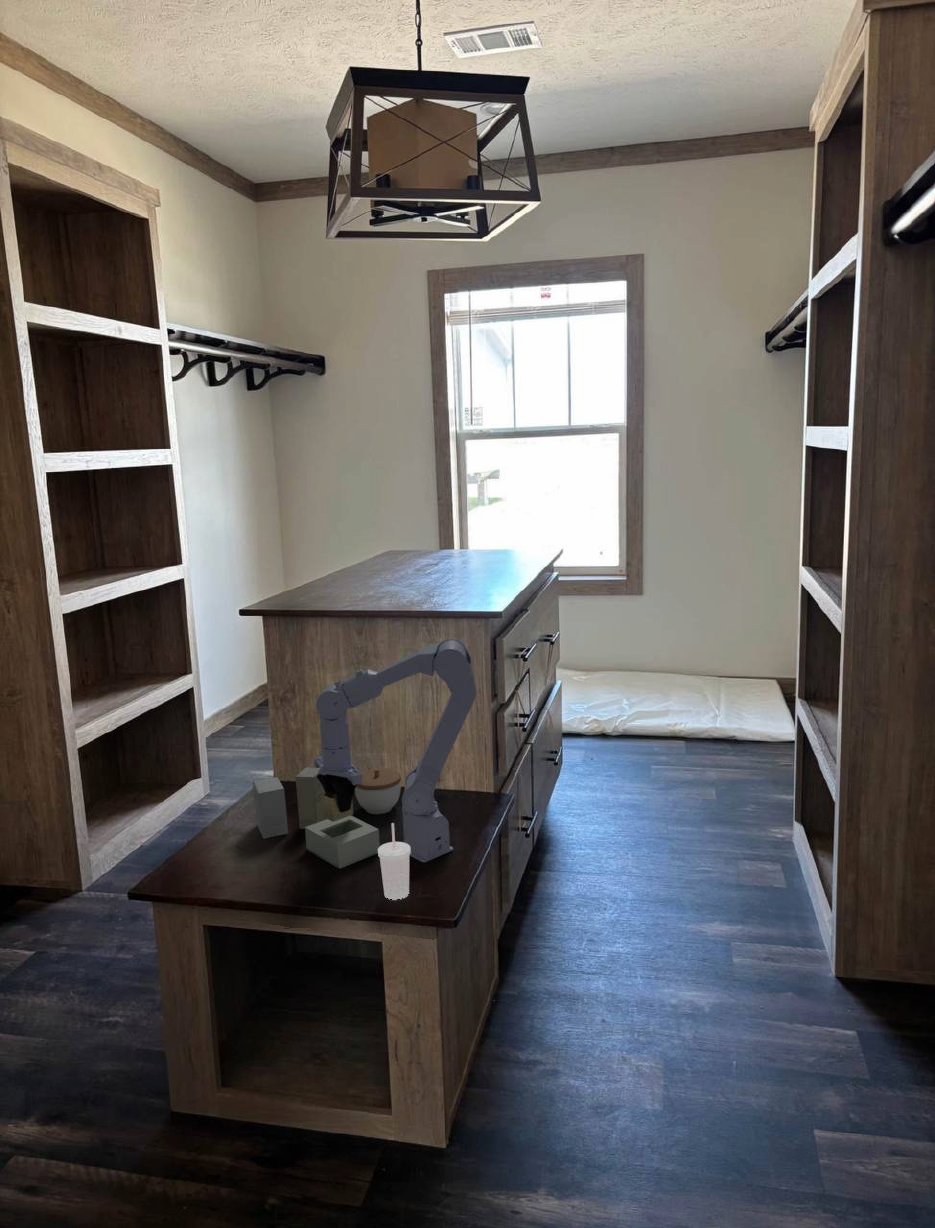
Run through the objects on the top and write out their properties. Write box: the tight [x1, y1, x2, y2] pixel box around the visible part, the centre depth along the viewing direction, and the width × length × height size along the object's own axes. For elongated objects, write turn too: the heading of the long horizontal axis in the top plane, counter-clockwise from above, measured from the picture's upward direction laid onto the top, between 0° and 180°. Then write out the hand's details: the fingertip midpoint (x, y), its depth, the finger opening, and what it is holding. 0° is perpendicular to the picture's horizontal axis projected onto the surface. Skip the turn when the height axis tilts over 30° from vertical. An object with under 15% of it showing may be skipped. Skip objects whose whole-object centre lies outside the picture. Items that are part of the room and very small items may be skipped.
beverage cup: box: [377, 822, 411, 901], centre depth 165 cm, size 6×6×14 cm
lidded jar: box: [354, 767, 402, 815], centre depth 205 cm, size 11×11×9 cm
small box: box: [252, 776, 289, 840], centre depth 195 cm, size 8×6×10 cm
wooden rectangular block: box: [323, 791, 354, 822], centre depth 183 cm, size 3×5×5 cm, turn 132°
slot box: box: [304, 815, 381, 869], centre depth 184 cm, size 12×10×5 cm
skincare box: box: [295, 766, 327, 830], centre depth 197 cm, size 6×4×12 cm
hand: (340, 808), depth 183 cm, fingers closed on wooden rectangular block, 3 cm apart
